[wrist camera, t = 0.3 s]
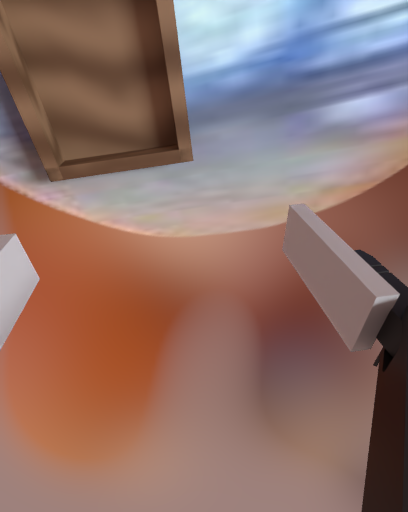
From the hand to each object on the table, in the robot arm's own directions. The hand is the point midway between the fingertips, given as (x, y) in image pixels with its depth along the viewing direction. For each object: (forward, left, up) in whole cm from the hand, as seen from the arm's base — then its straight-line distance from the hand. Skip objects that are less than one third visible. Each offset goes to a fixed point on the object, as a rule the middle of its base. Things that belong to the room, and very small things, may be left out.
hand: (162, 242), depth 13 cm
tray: (-8, -5, -27) cm, 29 cm away
